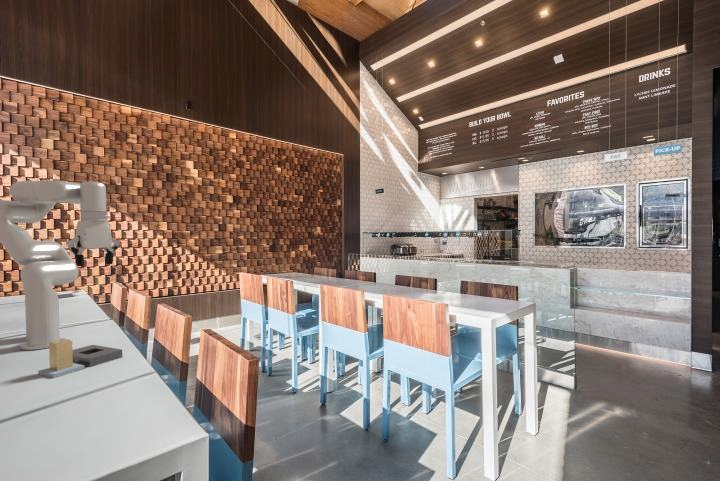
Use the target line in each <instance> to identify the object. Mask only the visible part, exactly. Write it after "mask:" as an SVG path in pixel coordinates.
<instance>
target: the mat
mask: <svg viewBox="0 0 720 481" xmlns="http://www.w3.org/2000/svg"><path fill="white" fill-rule="evenodd" d="M84 369H85V366H84V365H80V364H76V363H73V367H70V368H67V369H63V370H60V371H55V370H50V367H48V368H43V369H40V370H37V372H38V375H41V376H45V377H48V378H52V379H55V378H58V377H61V376H64V375H68V374H72V373H74V372H77V371H81V370H84Z"/></svg>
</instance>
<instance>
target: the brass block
mask: <svg viewBox="0 0 720 481" xmlns="http://www.w3.org/2000/svg"><path fill="white" fill-rule="evenodd" d="M72 350H73V340H72V339H67V338H64V339H62V340H58V341H53V342H49V351H48V352H49V354H48V355H49V368H50V370H55V371H60V370H63V369H67V368H70V367H73V352H72Z"/></svg>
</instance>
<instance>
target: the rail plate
mask: <svg viewBox="0 0 720 481" xmlns="http://www.w3.org/2000/svg"><path fill="white" fill-rule="evenodd" d="M72 352H73V363H76V364H80V365H84V367H87V368H91V367H95V366H97V365H100V364H104V363H108V362H110V361H114V360H117V359H120V358H121V359H122V358H123V349H120V348H115V347H108V346H103V345H96V344H90V345H86V346H83V347H77V348H75V349H72Z"/></svg>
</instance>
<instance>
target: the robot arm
mask: <svg viewBox="0 0 720 481" xmlns="http://www.w3.org/2000/svg"><path fill="white" fill-rule="evenodd" d="M9 195H10V196H11V198H12V199H14V200H5V199H4V200H3V199H2V200H1V199H0V243H1V244H2V246H3V247H4V249H5V250H6V251H7V253H8V254H9V256H10V257H11V259H12V260H13V261H14V262H15V263H16V264H17V265H20V266H23V267H22V268H21V270H20V280H21V283H22V287H23V292H24V306H25V307H24V309H25V339H26V340H25V343H23V344H21V345H20V349H21V350H23V351H34V350H35V351H36V350H43V349H48V348H49V342H53V341H58V340H62V339H65V338H63V337H60V335H61V334H60V306H59V305H60V301H59V296H58V294H57V292H56V291H55V290H54V288H53V286H60V285H67V284H71V283H74V282H75V281H76V280H77V279H78V277H79V273H80V272H79V267H84V266H85V263H84V262H85V261H84V260H85V258H84V257H85V256H84V254H83V253H84V252H85V250H94V249H95V250H96V249H100V250H101V249H103V250H104V251H105V253H104V254H105V256H104V259H105V265H113V264H114V254H115V252H116V251H117V250H118V249H119V248H118V247H119V246H120V243H121V241H120V240H118V239H116V238H114V237H112V230H111V226H110V222H109V221H108V219H110V217H111V215H110V214H108V212H107V187H106V184H104V183H103V182H98V181H83V182H81V183H79V182H71V181H66V180H65V181H64V180H54V179H53V180H52V179H48V180H47V179H43V180H42V179H41V180H20V181H16V182H14V183H13V184H11V185H10V187H9ZM57 203H60V204H61V203H62V204H63V203H64V204H73V205H80V206H79V207H80V220H77V222H76V228H75V234H74V235H75V237H74V238H72V239H70V240H68V241H66V242H65V244H66V247H67V248H68V249H69V251H70V252H72V253H73V255H74V257H75V259H74V260H75V261H74V260H73V258H72V257H71V255H70V254H69V253H68V251H67V250H66V249H65V247H63V245H62V244H60V243H59V242H57V241H54V240H35V239H34V238H33V237H32V236H31V234H30V233H29V232H28V231H27V230H26V229H25V228H23V227H22V226H20V225H17V224H36V223H39V222H41V221H43V220H44V218H45V217H46V216H47V215H48V214H49V212H50V211H51V210H52V209H53V208H54V206H55V205H56V204H57ZM16 223H17V224H16ZM112 243H113V244H112Z"/></svg>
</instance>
